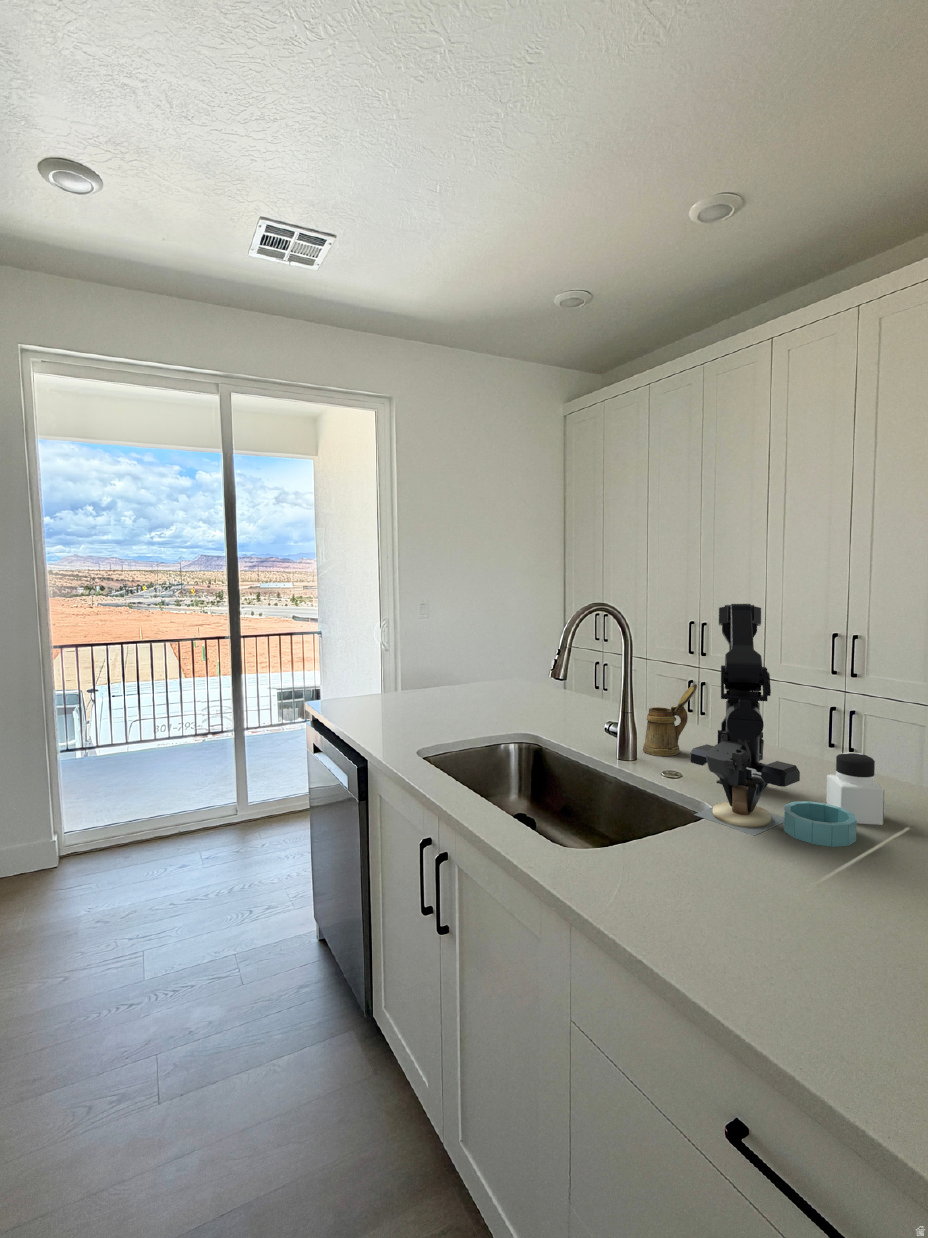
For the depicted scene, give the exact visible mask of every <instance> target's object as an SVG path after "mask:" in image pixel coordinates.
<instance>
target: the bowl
mask: <svg viewBox="0 0 928 1238" xmlns="http://www.w3.org/2000/svg"><path fill="white" fill-rule="evenodd" d="M783 817H784V823H783V832H785V833H786V834H788V835H789V836H791V837H792V838H794V839H796V840H800V841H803V842H806V843H808V844H812V845H819V846H824V847H831V848H832V847H848V846H850V845H853V844H854V843H856V842H857V824H858V823H857V820H856V818H855V815H854V814H853V813H851V812H849V811H847V810H845V809H843V808H840V807H837V806H833V805H829V804H826V803H824V802H817V801H811V800H810V801H807V800H804V801H803V800H802V801H791V802H789V803H786V804H784V805H783Z"/></svg>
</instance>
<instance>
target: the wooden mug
mask: <svg viewBox="0 0 928 1238" xmlns="http://www.w3.org/2000/svg"><path fill="white" fill-rule="evenodd" d="M697 689H698V685H697V684H693V685H692V686H690V687H688V688H687V689H686V690H685V692H684V693H683V694H682V696H681V697H680V699H679V700H678V704H677V705H673V706H671V707H670V708H667V707H662V706H661V707H658V706H657V707H649V708H648V712H647V715H646V721H647V723H646V731H645V737H644V738H645V739H644V743H643V747H642V751H643V753H645V752H646V753H645V754H648V755H651V756H657V757H671V756H676V755H678V754H679V753H680V750H681V749H680V746H679V739H680V736H681V734H682V733H683V730H684V729H685V727H686V725H687V724H688V712H687V710H686V709H685V707H684V706H685V705H686V704H687V703H689V701H690V700H691V698H692V697H693V696H694V694H695V693H696V691H697ZM676 716H677V717H678V718H679V719H680V722H679V723H678V724H677V725H676V724H675V722H676V721H677V717H676Z"/></svg>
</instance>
